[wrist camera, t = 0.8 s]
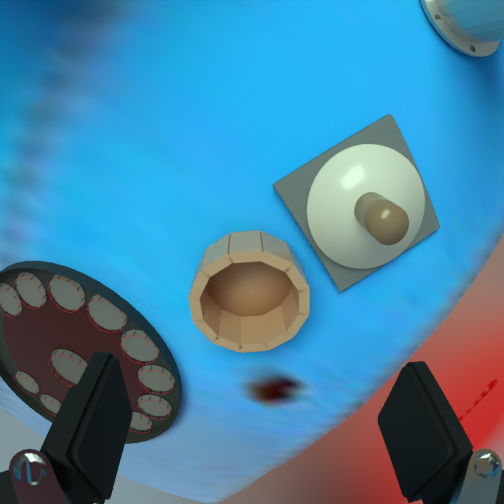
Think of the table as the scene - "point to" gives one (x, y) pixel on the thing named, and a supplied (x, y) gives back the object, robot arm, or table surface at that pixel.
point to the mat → (300, 180)
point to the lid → (365, 206)
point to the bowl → (249, 292)
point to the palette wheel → (81, 344)
